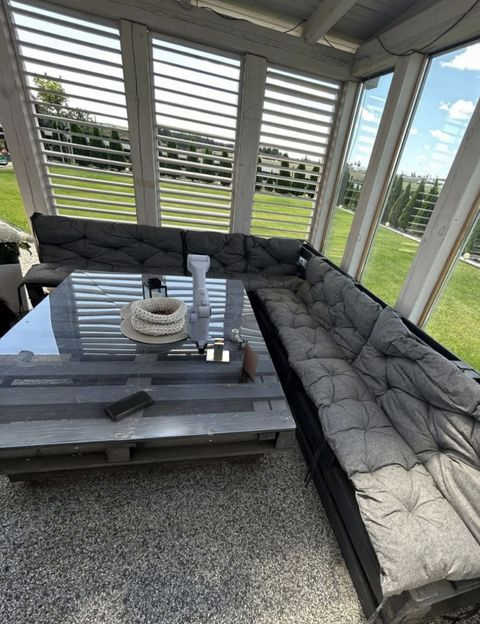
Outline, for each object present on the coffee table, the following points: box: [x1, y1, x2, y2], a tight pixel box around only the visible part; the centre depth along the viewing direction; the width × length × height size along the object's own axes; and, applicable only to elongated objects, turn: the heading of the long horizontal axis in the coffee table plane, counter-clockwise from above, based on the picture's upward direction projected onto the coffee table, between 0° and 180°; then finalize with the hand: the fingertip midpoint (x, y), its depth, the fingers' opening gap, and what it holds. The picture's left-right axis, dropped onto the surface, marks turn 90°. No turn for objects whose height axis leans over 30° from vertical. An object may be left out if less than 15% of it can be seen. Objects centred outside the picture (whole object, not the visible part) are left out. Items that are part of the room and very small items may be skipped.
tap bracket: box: [206, 337, 230, 363], centre depth 142 cm, size 11×9×10 cm
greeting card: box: [239, 342, 260, 381], centre depth 132 cm, size 11×7×15 cm, turn 178°
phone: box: [104, 390, 153, 421], centre depth 110 cm, size 8×1×15 cm
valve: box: [230, 328, 250, 351], centre depth 155 cm, size 7×7×12 cm
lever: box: [205, 340, 222, 351], centre depth 141 cm, size 12×3×3 cm, turn 97°
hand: (201, 352), depth 142 cm, fingers closed on lever, 3 cm apart
